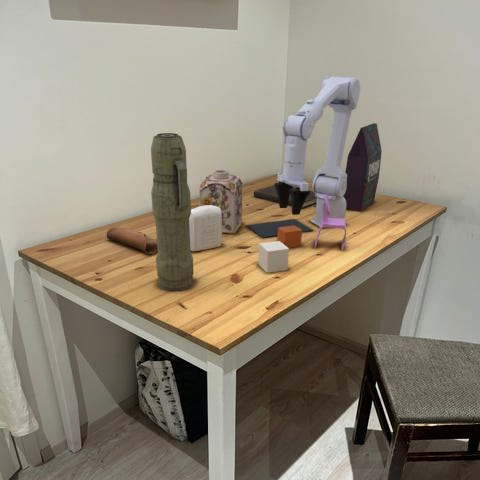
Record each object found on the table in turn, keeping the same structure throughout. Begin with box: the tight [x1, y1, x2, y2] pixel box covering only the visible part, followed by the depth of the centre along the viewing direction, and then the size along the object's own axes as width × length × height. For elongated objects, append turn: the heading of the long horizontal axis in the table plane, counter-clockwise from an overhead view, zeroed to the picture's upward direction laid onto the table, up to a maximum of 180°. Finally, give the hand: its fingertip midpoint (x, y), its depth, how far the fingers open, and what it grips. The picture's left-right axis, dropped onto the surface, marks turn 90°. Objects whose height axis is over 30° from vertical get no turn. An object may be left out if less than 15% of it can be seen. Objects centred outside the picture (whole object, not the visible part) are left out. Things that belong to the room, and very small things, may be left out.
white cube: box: [257, 240, 290, 274], centre depth 129 cm, size 6×6×6 cm
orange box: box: [276, 225, 303, 249], centre depth 144 cm, size 6×5×5 cm
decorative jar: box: [198, 169, 243, 235], centre depth 153 cm, size 12×12×18 cm
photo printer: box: [189, 205, 223, 252], centre depth 139 cm, size 10×4×12 cm, turn 123°
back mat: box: [246, 218, 313, 239], centre depth 157 cm, size 18×12×1 cm, turn 113°
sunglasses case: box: [106, 227, 158, 255], centre depth 143 cm, size 18×7×7 cm, turn 51°
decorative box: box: [343, 122, 383, 212], centre depth 175 cm, size 8×16×28 cm, turn 148°
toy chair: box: [314, 194, 347, 251], centre depth 141 cm, size 8×9×15 cm
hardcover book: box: [253, 184, 317, 209], centre depth 188 cm, size 16×23×2 cm
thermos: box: [150, 132, 195, 292], centre depth 112 cm, size 9×12×35 cm
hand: (289, 211), depth 140 cm, fingers open, 7 cm apart
